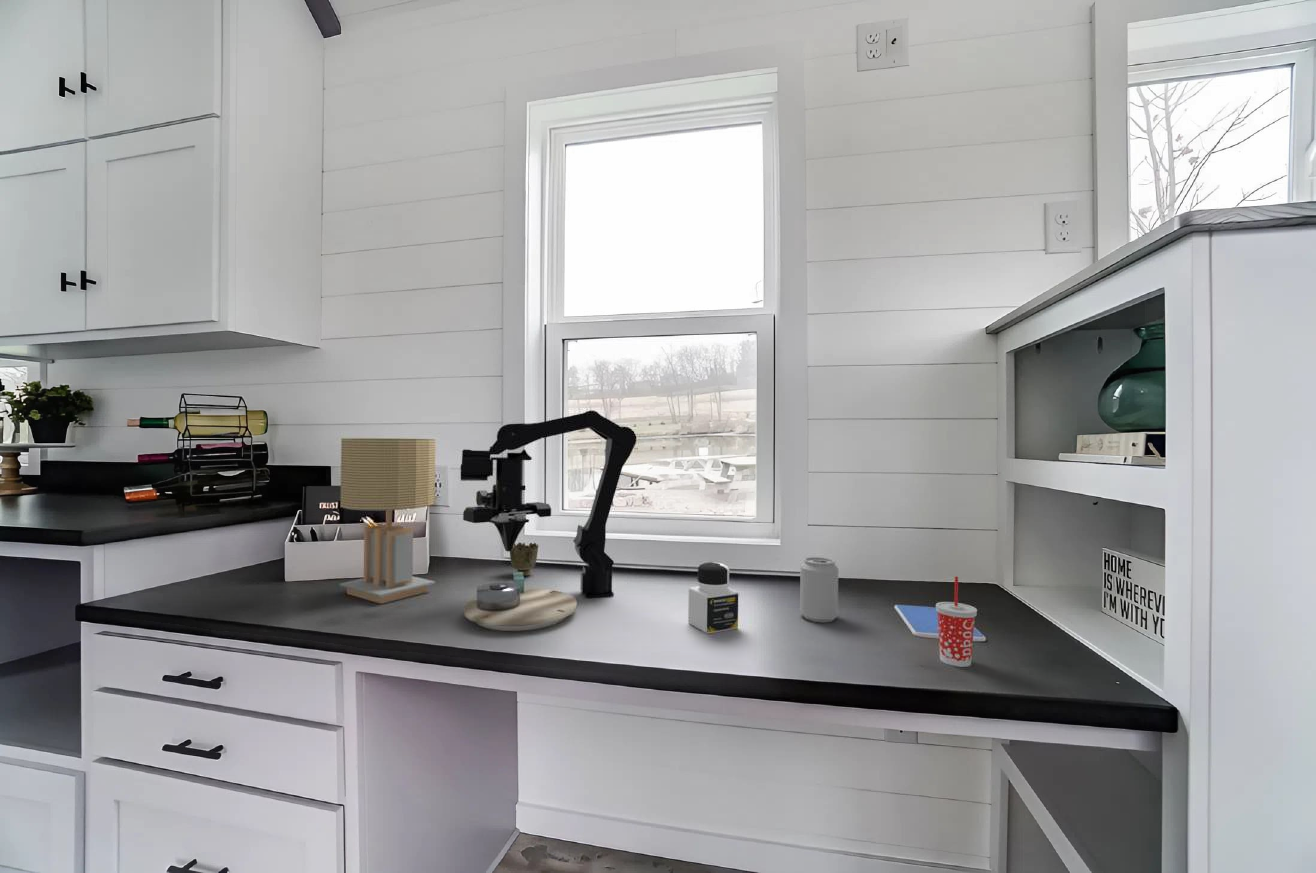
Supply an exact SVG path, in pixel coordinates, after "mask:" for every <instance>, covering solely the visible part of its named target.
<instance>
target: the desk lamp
mask: <svg viewBox="0 0 1316 873" xmlns="http://www.w3.org/2000/svg"><path fill="white" fill-rule="evenodd" d="M340 444H341V445H340V446H341V447H340V450H341V451H340V453H341V454H340V506H339V507H340V508H342V509H346V510H351V511H385V524H377V525H371V526H364V532H363V533H364V534H363V536H364V537H363V539H364V540H363V578H360V579H359V578H358V579H354V580H350V581H344V582H341V583H339V586H340V587H343V588H346V594H347V595H351V596H354V597H356V598H360V599H364V600H366V601H371V602H375V603H377V604H385V603H386V604H387V603H390V602H394V601H399V600H401V599H405V598H406V599H407V598H410V597H414V596H417V595H420V594H425V593H428V592H429V586H431V585H435V584H436V581H434V580H430V579H426V578H421V577H419V576H418V577H417V576H413V571H414V570H413V569H414V567H413V565H414V563H413V562H414V556H413V555H414V527H405V528H404V526H403V525H393V511H398V510H399V511H400V510H410V509H411V510H412V509H419V508H426V507H430V506H433V505H435V497H436V496H435V494H436V493H435V492H436V490H435V488H436V483H435V482H436V479H435V478H436V439H435V438H434V439H433V438H432V439H431V438H384V437H383V438H379V437H377V438H374V437H373V438H372V437H370V438H367V437H365V438H363V437H362V438H359V437H358V438H357V437H355V438H354V437H351V438H350V437H348V438H345V437H344V438H341V443H340Z"/></svg>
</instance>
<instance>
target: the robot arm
mask: <svg viewBox="0 0 1316 873" xmlns="http://www.w3.org/2000/svg"><path fill="white" fill-rule="evenodd" d="M584 429H590V430H591V431H592V432H594V433H595V434H597V435H598V436H600V437H601V438H602V439H604V440H605V448H604V449H605V455H604V456H605V457H604V458H605V460H604V465H603V469H602V472H601V475H600V478H599V482H598V486H597V488H596V493H595V496H594V499H593V503H592V506H591V510H590V514H589V517H588V519H587V521H586V523H585V524H584V526H582V525H580V524H578V525H577V530H576V536H575V538H574V539H573V540H572V541H573V543H574V550H575V552H576V554H577V555H578V557H579V559H581V561H583V563H584V564H586V565H583V566H582V572H581V573H580V588H579V589H580V592H581V593H582V594H583V595H584V596H583V597H584V598H587V599H588V598H599V597H600V598H602V597H612V596H614V595H615V594H614V592H613V565H614V562H615V561H614V560H613V559H612V558H611V557H610V556H609V555H608V554H607V552H605V547H606V546H605V545H606V541H607V540H606V535H607V534H606V533H607V532H606V526H607V521H608V518H609V515H610V511H611V509H612V506H613V505H612V504H613V501H614V497H615V494H616V491H617V487H618V484H619V481H620V477H621V473H622V471H623V467H624V465H625V464H626V462H627V461H628V459H629V457H630V456H631V454H632V452H633V450H634V448H635V447H636V443H637V435H636V433H635V431H634V429H632V428H630V427H628V426H620V425H618V424H617V423H615V422H613V421H612V420H610V419H609V418H606V417H605V416H603V415H602V414H600V413H599V412H598V411H596V410H592V409H591V410H587V411H585V412H583V413H577V414H573V415H568V416H565V417H559V418H554V419H548V420H545V421H540V422H527V423H525V422H524V423H523V422H522V423H508V424H504V425H502V426H501V427H500V428H499V430H498V431H497V433H496V441H495V442H494V443H493V445H491V446H489V449H487V450H472V449H462V452H461V453H462V454H461V464H460V482H461V481H464V482H466V481H468V482H471V481H472V482H474V481H480V482H482V481H485V482H487V481H488V479H489V478H490V477H494V461H496V462H495V463H496V465H495V466H496V467H495V484H493V485H492V491H491V492H488V491H487V490H485V489H484V490H478V491H476V495H475V496H476V497H475V501H476V506H466V507H465V509H464V510H463V513H462V520H463V521H465V522H468V523H472V524H480V523H491V524H493V525H494V526H495V527H496V529H497V531H498V534H499V537H500V539H501V542H502V544H503V547H504V550H505V552H510V551H511V550H512V548H513V546H514V543H515V544H516V541H517V539H518V537H519V535H520V533H521V531H522V530H523V528H524V527H525V525H526V523H529V522H530V519H528V518H527V515H536V516H538V517H539V518H545V517H546V518H547V517H551V516H552V507H551V505H550V504H549V503H546V502H540V501H537V502H536V501H535V502H525V503H523V491H526V485H524V484H523V480H524V479H523V478H524V476H523V475H524V471H523V470H524V461H532V460H533V459H532V456H531V455H529V453H528V452H527V451H526V449H522V450H521V452H507V454H506V456H503V457H500V456H499V457H497V456H498V455H500V454H502V453H503V452H505V451H506V450H507V451H513V450H517V449H519V448H521V447H525V446H528V445H530V444H531V443H534V442H536V441H538V440H541V439H545V438H548V437H549V438H550V437H554V436H558V435H562V434H566V433H571V432H576V431H579V430H580V431H581V430H584ZM491 455H497V456H496V457H495V456H494V457H493V456H491ZM488 477H489V478H488Z"/></svg>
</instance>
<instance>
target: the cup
mask: <svg viewBox="0 0 1316 873" xmlns="http://www.w3.org/2000/svg"><path fill="white" fill-rule="evenodd" d="M538 552H539V544H538V543H536V542H534V543H532V542H530V543H529V545H526V543H525V542H523V543H522V542H520V541H519V542H518V543H517V544H516V542H515V543H514V545H513V548H512V550H511V551H509V557H510V558H509V559H510V562H511V563H510V564H511V566H512V568H513V569H514V570H516V572H515V573H519V572H523V576H524V577H528V576H530V575H531V574H532V573H531V572H532V571H531V569H533V568H534V567H535V566H536V563H537V560H538V558H537V557H538Z"/></svg>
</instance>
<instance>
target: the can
mask: <svg viewBox="0 0 1316 873" xmlns="http://www.w3.org/2000/svg"><path fill="white" fill-rule="evenodd" d="M835 563H836V560H834V559H833V558H828V557H822V556H808V557H805V558H803V563H802V564H801V565H800V575H799V576H800V582H799V583H800V586H799V587H800V588H799V591H800V592H799V595H800V596H799V613H800V614H801V616H802V617H803V618H804V619H805V620H808V621H811V622H816V623H830V622H833V621H834V620H835V619H836V618H837V617H839V616H838V615H839V613H838V612H839V568H838V566H837V565H836V564H835Z"/></svg>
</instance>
